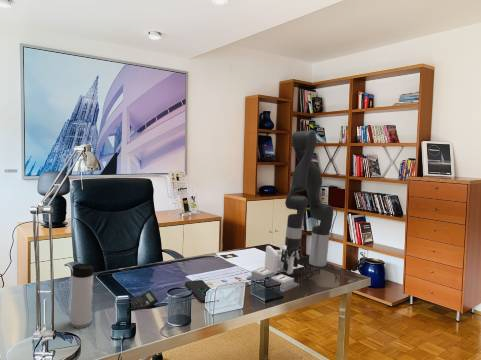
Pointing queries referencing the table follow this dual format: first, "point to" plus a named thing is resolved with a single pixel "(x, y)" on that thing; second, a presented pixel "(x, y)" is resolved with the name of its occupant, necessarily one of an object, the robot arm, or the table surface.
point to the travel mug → (82, 295)
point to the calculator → (143, 301)
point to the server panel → (274, 278)
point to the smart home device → (198, 289)
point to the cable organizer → (277, 260)
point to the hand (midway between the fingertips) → (290, 268)
